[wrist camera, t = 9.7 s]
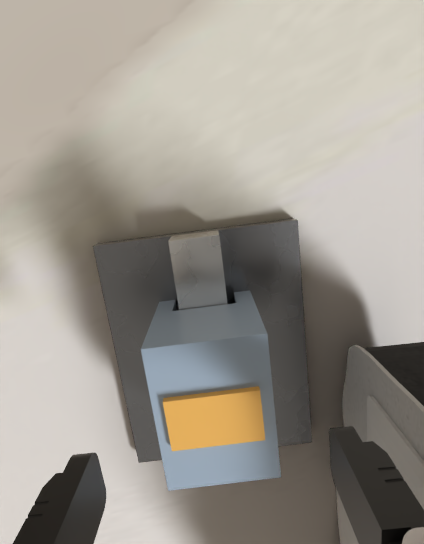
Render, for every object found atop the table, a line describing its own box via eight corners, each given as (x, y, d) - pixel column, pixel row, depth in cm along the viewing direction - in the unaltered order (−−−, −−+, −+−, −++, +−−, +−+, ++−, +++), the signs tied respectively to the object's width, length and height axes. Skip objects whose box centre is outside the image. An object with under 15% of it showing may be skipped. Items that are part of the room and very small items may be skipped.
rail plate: (97, 243, 20) (82, 252, 17) (293, 218, 20) (306, 223, 17) (141, 453, 23) (133, 484, 21) (308, 433, 23) (320, 462, 21)
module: (159, 301, 20) (139, 352, 14) (249, 290, 20) (268, 336, 14) (178, 410, 22) (167, 496, 16) (261, 399, 21) (282, 482, 16)
